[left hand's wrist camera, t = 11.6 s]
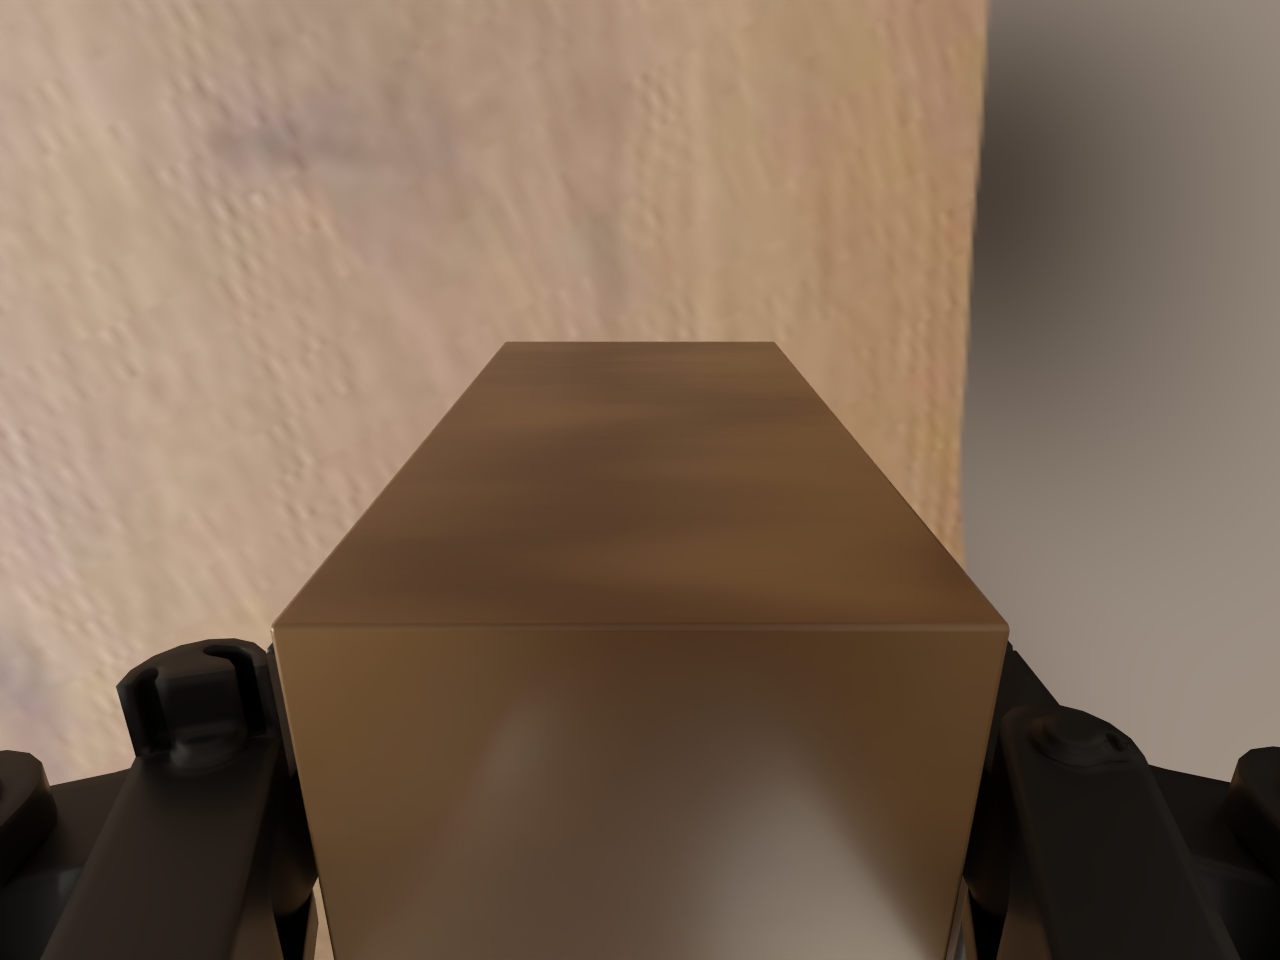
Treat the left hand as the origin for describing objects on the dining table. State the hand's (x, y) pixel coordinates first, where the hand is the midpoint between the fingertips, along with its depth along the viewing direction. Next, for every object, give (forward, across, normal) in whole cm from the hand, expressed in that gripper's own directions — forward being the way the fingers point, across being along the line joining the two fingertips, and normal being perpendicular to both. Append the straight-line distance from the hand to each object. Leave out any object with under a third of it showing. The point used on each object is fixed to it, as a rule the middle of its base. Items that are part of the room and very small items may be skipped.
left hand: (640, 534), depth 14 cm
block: (+2, 0, 0) cm, 2 cm away
